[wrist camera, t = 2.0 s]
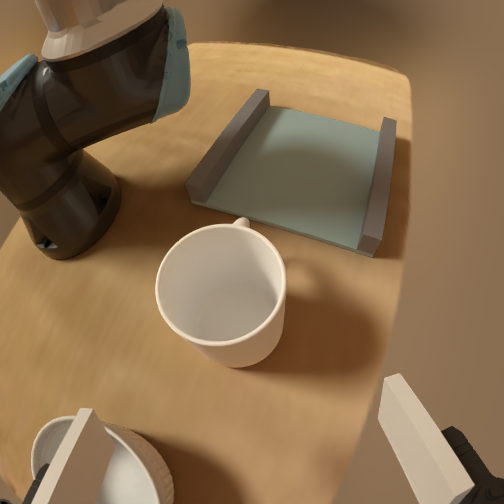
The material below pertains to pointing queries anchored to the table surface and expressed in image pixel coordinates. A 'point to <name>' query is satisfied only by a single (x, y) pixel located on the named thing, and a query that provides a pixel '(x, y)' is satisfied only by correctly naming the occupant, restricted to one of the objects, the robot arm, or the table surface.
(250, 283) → the mug
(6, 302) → the table surface
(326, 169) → the tray with side rails
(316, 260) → the table surface
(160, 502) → the ramekin
